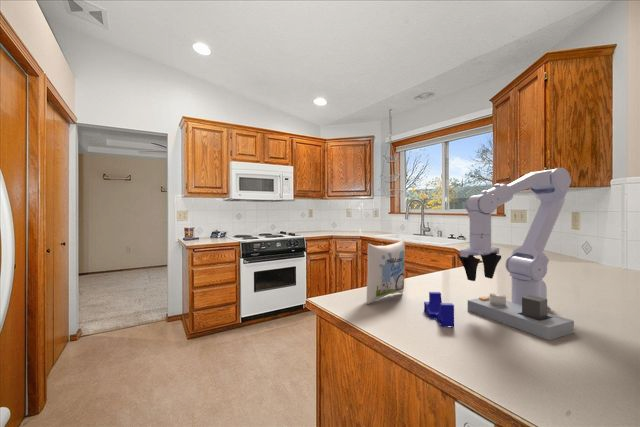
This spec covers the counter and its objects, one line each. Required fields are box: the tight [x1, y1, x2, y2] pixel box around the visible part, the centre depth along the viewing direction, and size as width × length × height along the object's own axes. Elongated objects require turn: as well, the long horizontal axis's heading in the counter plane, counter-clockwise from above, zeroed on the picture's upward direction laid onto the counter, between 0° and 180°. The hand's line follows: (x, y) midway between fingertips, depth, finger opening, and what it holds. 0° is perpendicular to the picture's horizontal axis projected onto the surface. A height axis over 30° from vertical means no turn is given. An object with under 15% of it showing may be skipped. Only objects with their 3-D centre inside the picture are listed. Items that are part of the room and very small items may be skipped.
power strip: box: [467, 292, 575, 341], centre depth 78 cm, size 10×22×6 cm, turn 22°
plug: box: [522, 295, 548, 321], centre depth 74 cm, size 4×4×7 cm
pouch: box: [366, 239, 406, 305], centre depth 98 cm, size 8×19×20 cm, turn 124°
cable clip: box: [423, 291, 455, 328], centre depth 80 cm, size 12×4×6 cm, turn 174°
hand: (480, 279), depth 86 cm, fingers open, 7 cm apart
